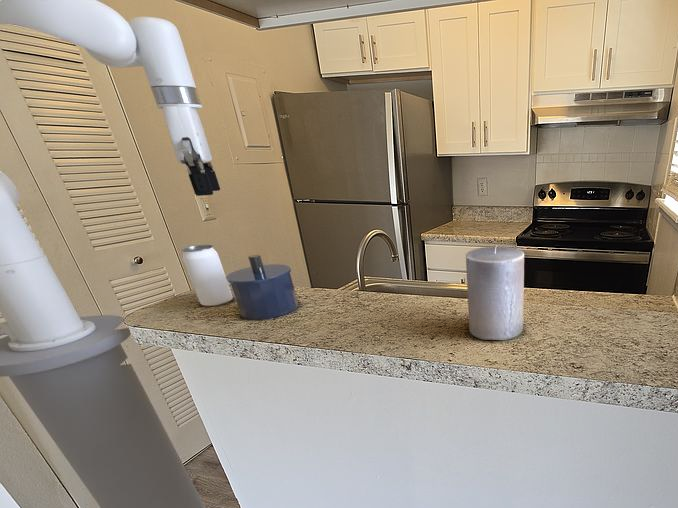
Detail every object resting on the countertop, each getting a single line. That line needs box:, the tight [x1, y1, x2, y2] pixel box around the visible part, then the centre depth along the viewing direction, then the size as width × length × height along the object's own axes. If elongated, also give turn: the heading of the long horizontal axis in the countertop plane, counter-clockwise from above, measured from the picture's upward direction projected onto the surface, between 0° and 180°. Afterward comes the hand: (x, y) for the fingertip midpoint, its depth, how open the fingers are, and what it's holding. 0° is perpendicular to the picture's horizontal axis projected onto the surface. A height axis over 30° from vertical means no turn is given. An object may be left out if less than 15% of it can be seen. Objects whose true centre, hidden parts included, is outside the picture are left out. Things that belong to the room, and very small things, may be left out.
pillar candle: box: [465, 244, 525, 341], centre depth 69 cm, size 10×10×15 cm
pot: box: [229, 272, 299, 321], centre depth 83 cm, size 11×11×8 cm
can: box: [181, 244, 234, 307], centre depth 88 cm, size 6×6×12 cm
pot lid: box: [225, 254, 292, 284], centre depth 81 cm, size 12×12×4 cm
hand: (208, 192), depth 88 cm, fingers open, 9 cm apart
